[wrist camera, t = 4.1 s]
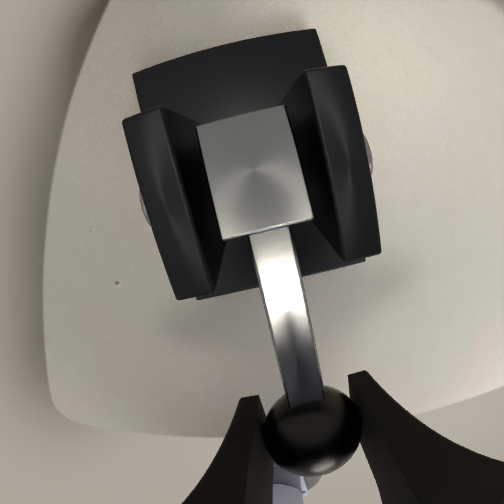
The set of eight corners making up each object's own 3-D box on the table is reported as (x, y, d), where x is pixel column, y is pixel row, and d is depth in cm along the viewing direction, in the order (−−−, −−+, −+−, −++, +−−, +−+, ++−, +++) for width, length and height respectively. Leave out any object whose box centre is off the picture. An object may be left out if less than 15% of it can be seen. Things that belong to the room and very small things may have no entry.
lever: (353, 426, 11) (374, 480, 7) (273, 444, 11) (274, 502, 8) (295, 130, 10) (308, 93, 6) (198, 153, 10) (169, 127, 7)
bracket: (359, 254, 17) (444, 353, 8) (199, 291, 18) (161, 416, 9) (311, 35, 13) (372, -63, 4) (139, 78, 14) (32, 24, 5)
